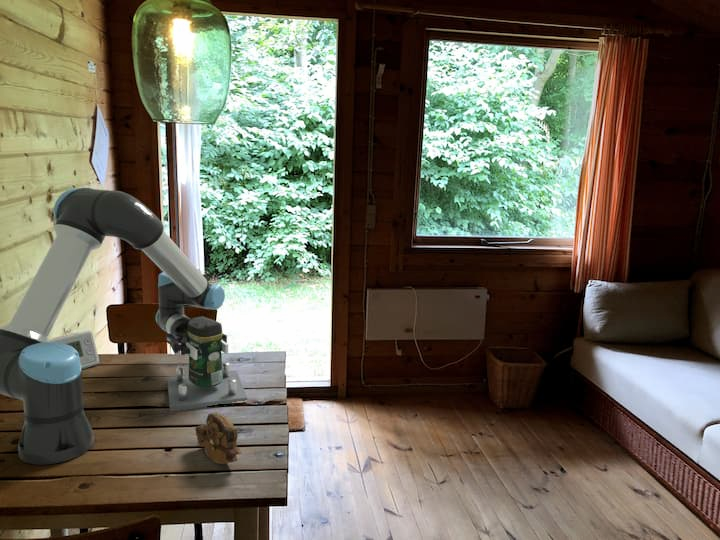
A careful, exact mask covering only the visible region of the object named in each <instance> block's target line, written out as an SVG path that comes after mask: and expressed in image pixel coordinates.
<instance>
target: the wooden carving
mask: <svg viewBox="0 0 720 540" xmlns="http://www.w3.org/2000/svg"><path fill="white" fill-rule="evenodd" d="M205 422H206V423H205V424H204V423H203V424H201V425H197V426H195V428H194V429H195V435H196V440H197V444H198V445H199V446H200V447H201V448H204V452H205V454H206V455H207V457H208V459H210V460H211V461H213V462H214V463H216V464H217V465H218V464H219V465H225V464H229V463H235V462H238V457H237V455H241V454H242V450H241V448H239V446H237V445H238V444H237V440H238V436H239V435H238V434H239V433H238V428H237V427H235V425H234V424H233V423H232V421H231V420H230V419H229V418H228V416H226V415H224V414H218V413H217V412H213V413H212V412H211V413H209V414H207V418H206V421H205Z"/></svg>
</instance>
